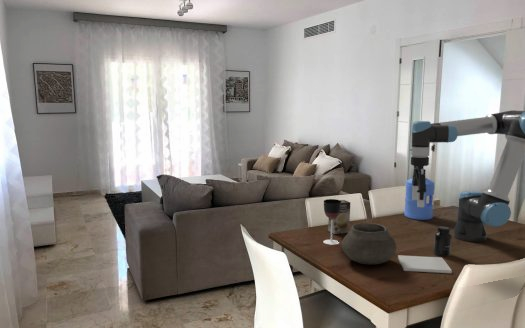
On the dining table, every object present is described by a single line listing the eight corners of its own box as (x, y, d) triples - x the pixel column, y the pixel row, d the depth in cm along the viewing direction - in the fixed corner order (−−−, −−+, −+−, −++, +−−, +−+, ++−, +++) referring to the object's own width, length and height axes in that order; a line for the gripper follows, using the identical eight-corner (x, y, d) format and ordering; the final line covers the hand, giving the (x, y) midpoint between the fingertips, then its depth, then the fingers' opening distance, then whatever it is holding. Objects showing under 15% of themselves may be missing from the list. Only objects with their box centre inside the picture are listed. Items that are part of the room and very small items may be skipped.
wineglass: (341, 240, 205) (343, 200, 202) (337, 246, 197) (338, 204, 194) (325, 238, 208) (326, 198, 205) (320, 243, 200) (321, 202, 198)
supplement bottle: (448, 257, 182) (450, 230, 181) (432, 254, 186) (433, 228, 184) (451, 253, 188) (453, 226, 186) (435, 250, 192) (436, 224, 190)
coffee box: (333, 234, 214) (334, 203, 212) (327, 231, 220) (328, 200, 218) (349, 232, 217) (350, 202, 215) (343, 229, 223) (344, 199, 221)
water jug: (406, 219, 242) (409, 171, 238) (402, 212, 257) (404, 167, 253) (435, 221, 239) (438, 172, 235) (429, 213, 255) (432, 167, 251)
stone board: (441, 260, 179) (442, 257, 179) (451, 273, 166) (451, 270, 166) (397, 258, 182) (398, 255, 182) (403, 270, 168) (403, 267, 168)
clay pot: (362, 275, 164) (363, 237, 162) (332, 256, 183) (333, 223, 181) (406, 266, 173) (408, 230, 170) (373, 250, 192) (374, 217, 190)
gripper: (406, 152, 200) (405, 196, 203) (415, 160, 176) (413, 209, 179) (423, 153, 199) (421, 197, 202) (435, 160, 174) (432, 210, 177)
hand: (417, 203), depth 190 cm, fingers open, 13 cm apart
